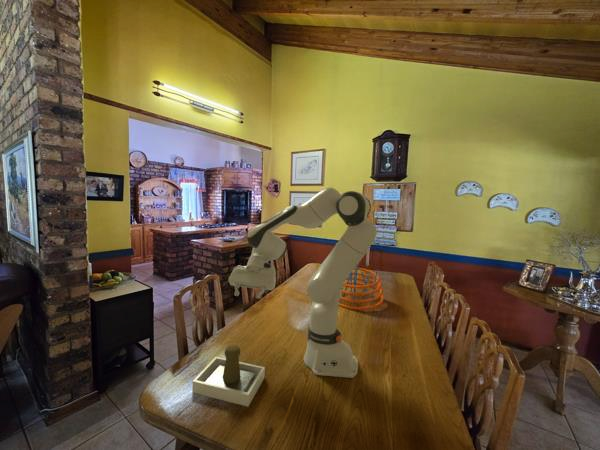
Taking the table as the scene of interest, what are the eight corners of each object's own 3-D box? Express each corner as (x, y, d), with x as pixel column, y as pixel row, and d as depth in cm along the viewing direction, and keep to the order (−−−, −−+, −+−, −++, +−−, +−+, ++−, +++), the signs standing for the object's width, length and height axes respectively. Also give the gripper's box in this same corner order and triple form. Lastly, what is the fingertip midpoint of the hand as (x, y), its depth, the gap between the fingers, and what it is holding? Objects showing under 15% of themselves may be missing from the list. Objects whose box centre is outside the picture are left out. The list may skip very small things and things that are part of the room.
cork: (233, 368, 95) (234, 340, 94) (243, 376, 91) (245, 347, 90) (219, 376, 90) (220, 347, 89) (229, 385, 86) (230, 354, 85)
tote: (264, 380, 95) (264, 367, 95) (248, 409, 82) (248, 394, 81) (215, 368, 100) (215, 356, 99) (192, 395, 86) (192, 381, 86)
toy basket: (391, 314, 161) (394, 278, 156) (335, 315, 160) (336, 279, 155) (374, 289, 195) (375, 259, 190) (327, 291, 194) (328, 260, 189)
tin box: (254, 379, 94) (254, 372, 93) (242, 399, 84) (242, 392, 84) (219, 371, 97) (219, 365, 97) (203, 390, 87) (204, 383, 87)
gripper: (232, 261, 115) (221, 290, 106) (276, 265, 110) (268, 296, 102) (237, 268, 119) (226, 296, 111) (279, 273, 115) (271, 302, 106)
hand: (246, 296), depth 106 cm, fingers open, 8 cm apart
